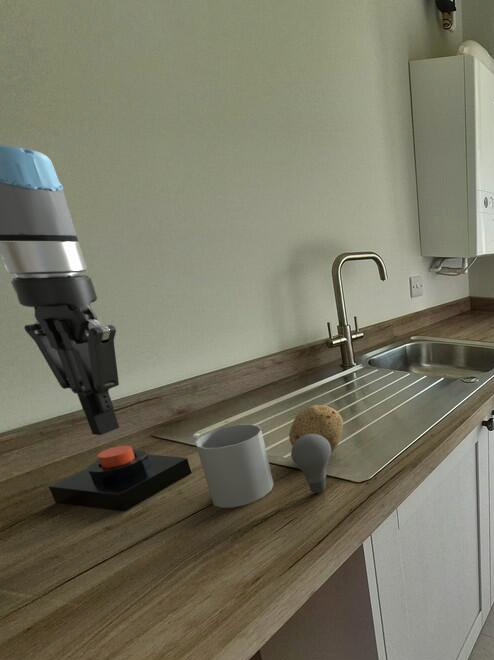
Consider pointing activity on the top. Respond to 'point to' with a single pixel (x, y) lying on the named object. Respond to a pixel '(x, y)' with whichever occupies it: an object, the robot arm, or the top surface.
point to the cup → (235, 465)
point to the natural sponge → (318, 424)
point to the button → (116, 456)
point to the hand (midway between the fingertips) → (106, 430)
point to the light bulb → (312, 459)
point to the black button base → (121, 482)
